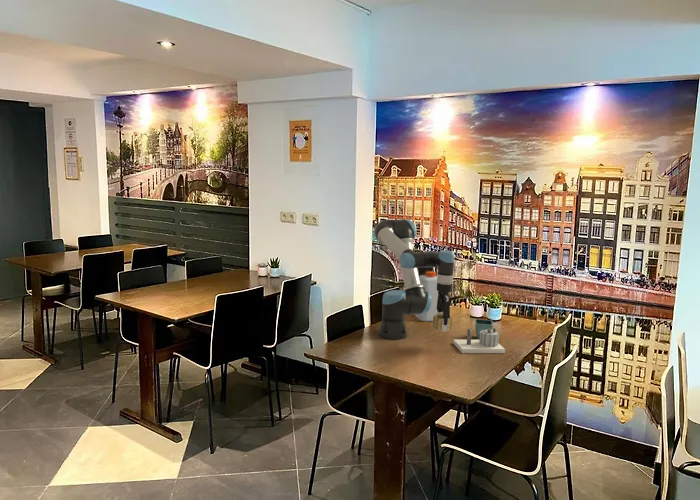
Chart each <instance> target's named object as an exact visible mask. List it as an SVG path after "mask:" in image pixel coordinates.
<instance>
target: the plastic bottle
mask: <svg viewBox="0 0 700 500" xmlns="http://www.w3.org/2000/svg"><path fill="white" fill-rule="evenodd" d="M419 278H420V283H421V285H422V286H424V288H425V291H427V292H429V293H430V295H431V298H432V303H431V307H430V310H429V311H428V312H427V313H422V314H414V317H415V318H417V320H418V321H421V322H433V315H436V314H437V309H436V308H437V300H438V291H437V283H438V282H437V272H436V271H432V270H431V271H430V270H427V271H426V272H425V275H424V274H423V275H419Z"/></svg>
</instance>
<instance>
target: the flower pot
mask: <svg viewBox="0 0 700 500" xmlns="http://www.w3.org/2000/svg"><path fill="white" fill-rule="evenodd" d="M474 323H475V324H474V328H475V335H476V339H477V340H479V339H480V331H482V330H487V329H492V330H493V328H494V324H493V320H492V319H491V320H490V319H479V318H476V319H474Z"/></svg>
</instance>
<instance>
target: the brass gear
mask: <svg viewBox="0 0 700 500" xmlns="http://www.w3.org/2000/svg"><path fill="white" fill-rule="evenodd" d="M446 316H447V315H446ZM442 317H443V315H442V314H439V315H438V314H436V315H433V321H432V329H433V330H434V331H438V332H443V331H442ZM452 322H453V316H450V318H448V330H447V331H446V332H450V331H452Z"/></svg>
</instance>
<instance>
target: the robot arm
mask: <svg viewBox="0 0 700 500" xmlns="http://www.w3.org/2000/svg"><path fill="white" fill-rule="evenodd" d="M373 231H374V237H375V239H376V240H377V242H379V243H380V244H382V245H385V246H386V248H388V249H389V250H390V251H391V252H392V253H393V254H395V256H396V257H398V259H399V264H400V270H401V273H402V278H403V283H404V289H403V290H402V289H393V290H392V289H391V290H388V291H385V292H384V293H383V294H382V295H383V296H382V302H381V304H382V306H381V307H382V308H381V309H382V310H381V322H380V325H379V327H378V331H377V332H378V333H377V335H378V336H379V337H380V338H383V339H388V340H401V339H406V338H407V337H408V330H407V327H406V323H405V316H408V315H411V316H412V315H415V314H422V313H427V312H428V311H429V310H430V307H431V303H432V298H431V295H430V293H429V292H427V291H425V288H424V286H422V285H421V283H420V278H419V277H420V275H419V269H420V268H421V269H422V268H423V269H425V268H435V269H437V272H436V276H437V282H438V283H437V291H438V300H437V308H436V309H437V314H438V315H439V314H442V315H443V317H442V331H441V332H448V331H447V330H448V318H450V317H451V309H450V308H451V306H450V305H451V297H450V296H449V293H451V292H453V285H454V284H453V282H454V278H455V276H454V270H455V261H456V260H455V252H454V251H452V250H440V251H438V252H437V251H435V250H428V251H426V252H425V251H424V252H415V251H414V248H413V243H414V242H415V238H416V237H417V228H416V226H415V223H414V222H413V221H412V220H410V219H405V218H404V219H403V218H400V219H383V220H381V221H379V222H378V223H377V224H376V225H375V227H374V230H373ZM446 315H447V316H446Z"/></svg>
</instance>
